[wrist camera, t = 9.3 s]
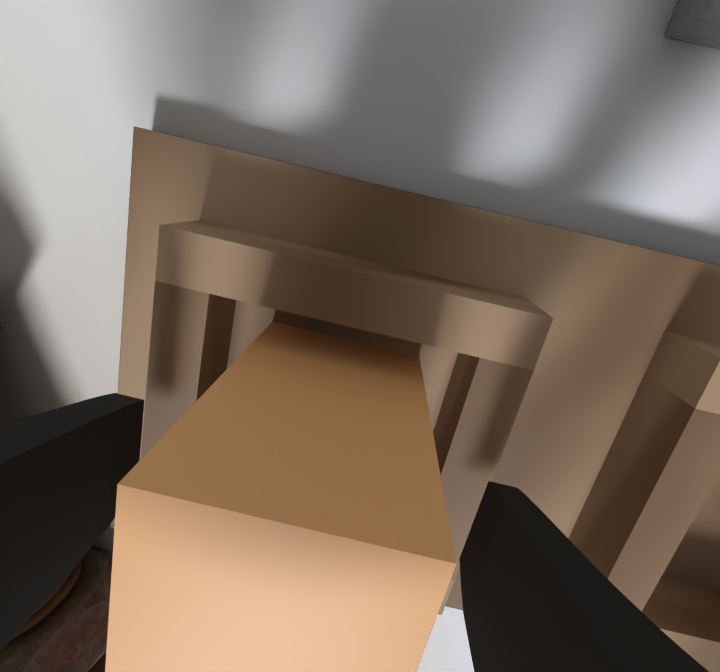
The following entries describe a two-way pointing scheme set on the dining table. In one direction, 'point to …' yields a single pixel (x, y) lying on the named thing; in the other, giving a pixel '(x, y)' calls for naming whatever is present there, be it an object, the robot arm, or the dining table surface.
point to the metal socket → (696, 22)
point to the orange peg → (286, 519)
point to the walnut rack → (455, 349)
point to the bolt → (67, 623)
